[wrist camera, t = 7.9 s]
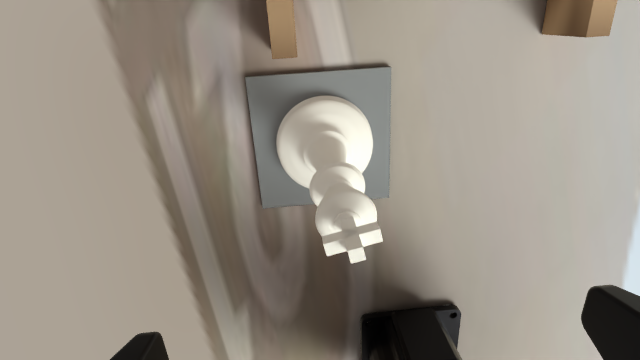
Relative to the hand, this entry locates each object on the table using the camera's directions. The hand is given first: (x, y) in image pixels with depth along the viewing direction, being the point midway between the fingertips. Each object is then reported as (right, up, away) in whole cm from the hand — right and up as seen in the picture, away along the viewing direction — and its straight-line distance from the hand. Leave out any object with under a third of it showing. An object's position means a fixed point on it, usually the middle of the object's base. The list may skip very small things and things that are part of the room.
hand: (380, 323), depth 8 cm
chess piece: (-1, +5, +12) cm, 13 cm away
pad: (-1, +5, +12) cm, 13 cm away
